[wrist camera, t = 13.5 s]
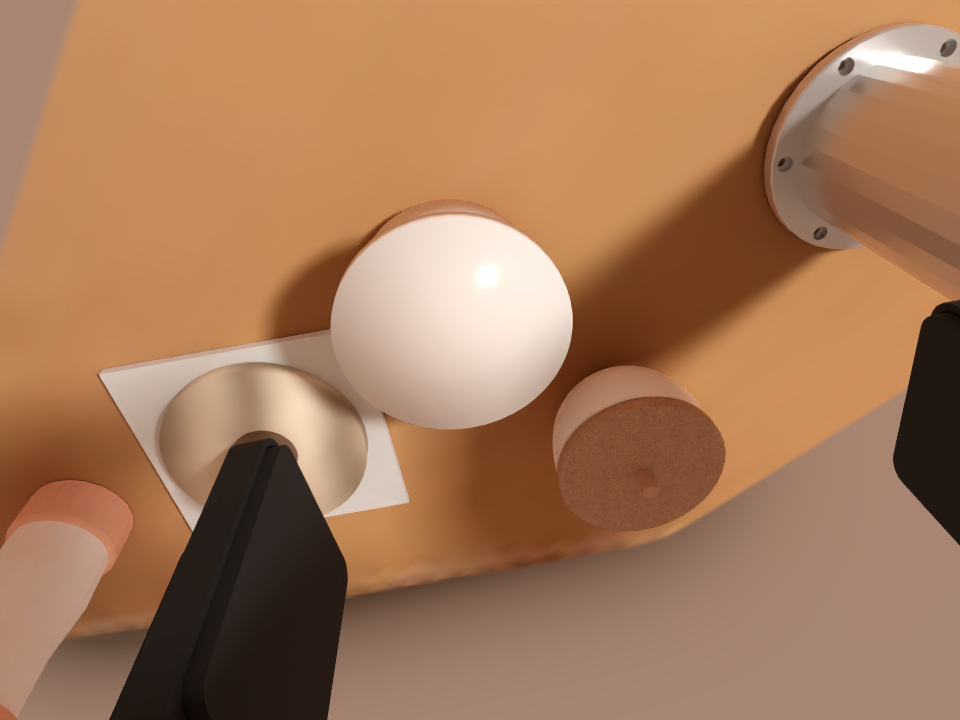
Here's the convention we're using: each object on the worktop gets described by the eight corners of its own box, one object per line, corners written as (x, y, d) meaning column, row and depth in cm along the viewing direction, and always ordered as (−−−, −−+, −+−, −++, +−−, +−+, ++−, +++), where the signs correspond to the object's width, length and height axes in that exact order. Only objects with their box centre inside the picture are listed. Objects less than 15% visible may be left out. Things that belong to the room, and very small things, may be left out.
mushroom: (538, 158, 35) (562, 196, 30) (558, 347, 42) (580, 408, 37) (317, 198, 36) (297, 244, 30) (373, 380, 43) (365, 445, 37)
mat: (356, 324, 40) (355, 329, 40) (408, 497, 49) (408, 502, 48) (102, 369, 40) (98, 374, 40) (199, 533, 49) (197, 539, 49)
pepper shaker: (74, 464, 44) (-122, 746, 28) (154, 520, 48) (21, 799, 32) (8, 508, 46) (-213, 797, 30) (90, 559, 50) (-68, 842, 34)
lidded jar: (541, 464, 48) (564, 560, 40) (536, 348, 42) (563, 434, 35) (675, 448, 48) (725, 541, 41) (689, 330, 43) (750, 412, 35)
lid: (337, 345, 40) (324, 400, 35) (388, 496, 48) (384, 560, 43) (128, 382, 41) (85, 443, 35) (212, 526, 48) (186, 595, 43)
